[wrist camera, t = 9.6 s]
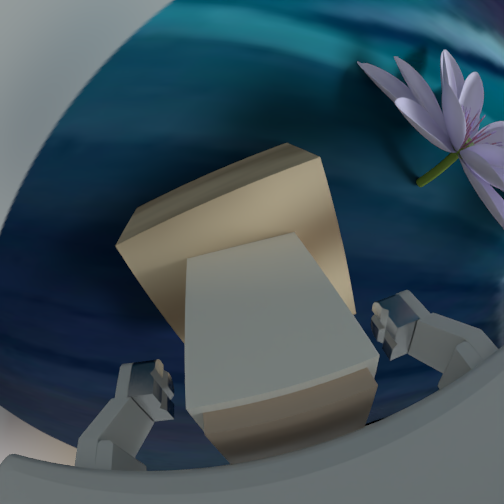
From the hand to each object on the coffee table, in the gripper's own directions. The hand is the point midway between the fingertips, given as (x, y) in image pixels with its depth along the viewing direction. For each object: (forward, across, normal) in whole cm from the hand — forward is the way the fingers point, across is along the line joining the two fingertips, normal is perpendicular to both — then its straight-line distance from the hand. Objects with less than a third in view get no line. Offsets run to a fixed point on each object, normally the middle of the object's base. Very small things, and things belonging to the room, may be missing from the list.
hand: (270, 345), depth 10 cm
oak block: (+9, 0, 0) cm, 9 cm away
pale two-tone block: (+4, 0, 0) cm, 4 cm away
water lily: (+9, +14, +6) cm, 18 cm away
